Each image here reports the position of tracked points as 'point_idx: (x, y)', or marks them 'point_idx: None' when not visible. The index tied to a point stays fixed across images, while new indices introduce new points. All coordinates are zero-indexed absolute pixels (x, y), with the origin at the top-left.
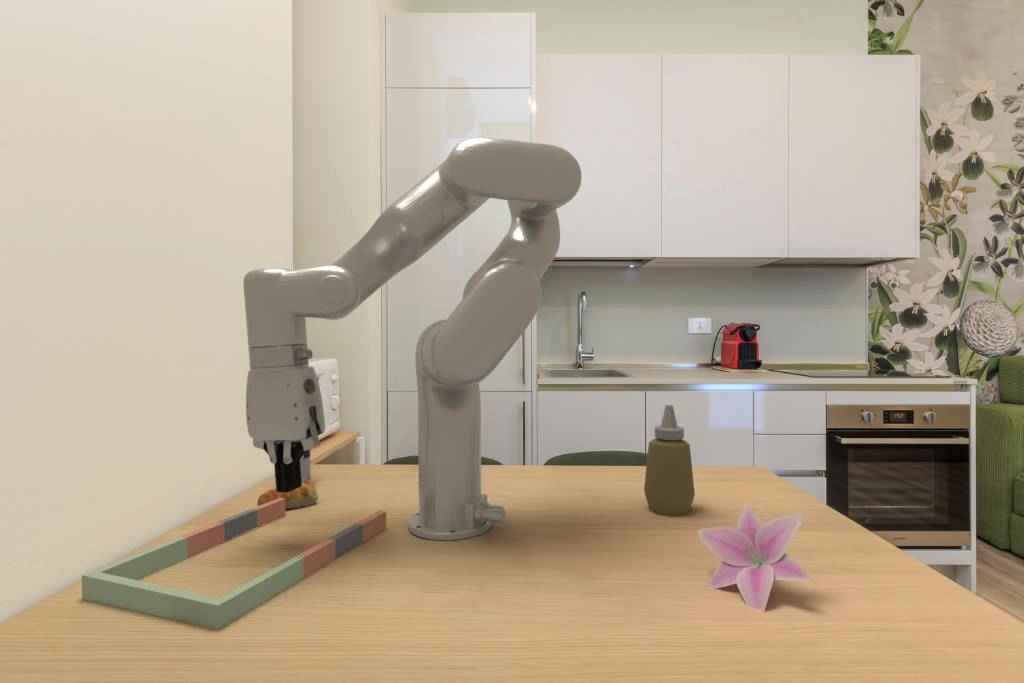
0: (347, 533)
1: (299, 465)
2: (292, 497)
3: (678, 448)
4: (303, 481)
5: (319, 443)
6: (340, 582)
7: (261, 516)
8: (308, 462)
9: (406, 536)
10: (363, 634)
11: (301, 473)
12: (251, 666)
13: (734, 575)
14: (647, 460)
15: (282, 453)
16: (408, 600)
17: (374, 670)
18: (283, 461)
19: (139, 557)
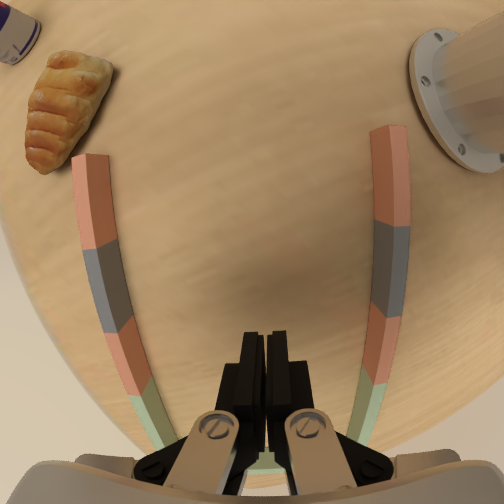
0: (406, 279)
1: (313, 405)
2: (79, 119)
3: None
4: (56, 65)
5: (457, 457)
6: (418, 337)
7: (103, 230)
8: (16, 14)
9: (429, 147)
10: (463, 382)
11: (21, 34)
12: (402, 439)
13: None
14: None
15: (234, 462)
16: (486, 325)
17: (473, 397)
18: (256, 444)
19: (163, 441)
